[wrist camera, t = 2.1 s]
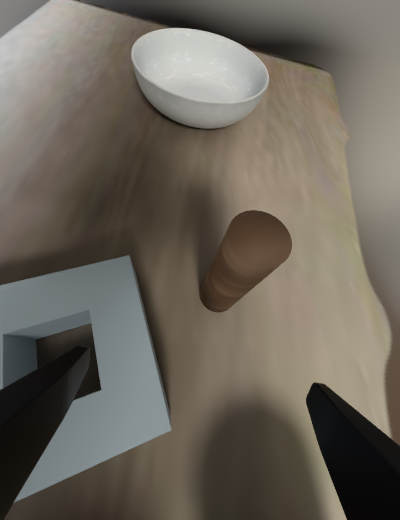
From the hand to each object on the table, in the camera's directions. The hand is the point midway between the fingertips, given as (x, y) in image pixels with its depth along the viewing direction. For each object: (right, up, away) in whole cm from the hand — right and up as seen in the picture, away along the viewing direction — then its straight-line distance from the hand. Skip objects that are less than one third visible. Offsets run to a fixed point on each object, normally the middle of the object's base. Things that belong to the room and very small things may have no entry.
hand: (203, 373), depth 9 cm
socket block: (-12, -5, +11) cm, 17 cm away
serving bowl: (-1, +32, +30) cm, 44 cm away
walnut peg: (+2, +1, +16) cm, 16 cm away
